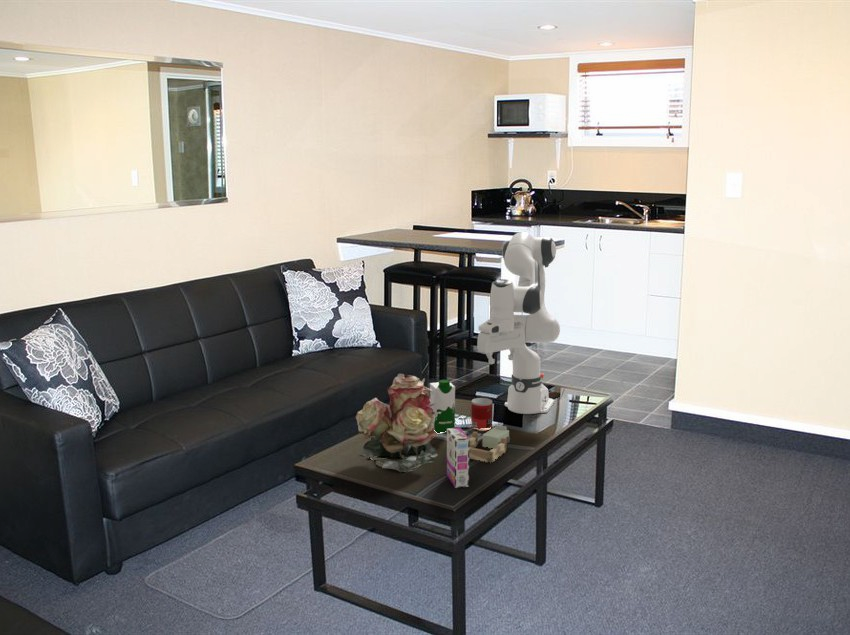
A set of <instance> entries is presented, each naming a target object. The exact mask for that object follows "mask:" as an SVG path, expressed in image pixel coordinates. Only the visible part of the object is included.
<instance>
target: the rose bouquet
mask: <svg viewBox="0 0 850 635" xmlns="http://www.w3.org/2000/svg"><path fill="white" fill-rule="evenodd" d="M425 380H426V378H425V377H424V378H423V379H422V380H421V378H419V377H417V376H415V375H409V374H404V373H398V374H397V376H395V377H394V378H393V381H392V385H391V386H389V387H387V393H388V397H389V403H388V404H387V403H384V402H382V401H380V400H379V399H378V398H377V397H374V398H372V399H371V400H369V401H366V403H365V404H364V405H363V408H362V409H361V410H359V411H357V413H356V415H355V417H354V418H355V419H356V422H357V424H356V425H357V426H358V427H357V428H358V433H359V434H360V435H361V434H362V435H363V436H364V439H366V440H367V439H369V438H370V440H367V441H366V442H365V443H364V445H363V447H362V450H361V454H360V455H361V456H362V455H365V456H369V455H373V457H374V456H390V457H389V458H391V457H392V458H391V459H394V460H389V459H377V460H376V461H380V462H382V463H384V464H383V466H382V468H381V469H390V470H391V469H392V470H395V471H398V472H399V473H401V472H404V471H407V470H409V469H412V467H414V468H416V467H417V468H416V469H418V468H420V467H421V466H423V465H425V464H430V463H431V464H432V463H434V460H433V461H432V460H430V459H432V458H436V457H437V456H438V455H439V454H437V451H436V448H435V447H433V446H432V444H431V441H432V440H433V439H434V438H435V437H436V436H437V433H436V432H435V431H434V422H435V417H436V414H435V412H433V409H432V408H431V406H433V405H435V404H436V403H435V404H432V405H431V401H430V395H429V394H430V392H432V389H431V388H430V387H427V386H425ZM414 453H416V454H414ZM421 453H422V455H418V454H421ZM410 454H414V455H417V456H414V455H410ZM399 456H401V457H399ZM393 457H394V458H393ZM396 457H397V458H396ZM405 457H407V458H405ZM431 457H432V458H431ZM401 458H402V459H401ZM370 459H371V460H370V461H374V460H373V459H372V458H370ZM429 460H430V461H429ZM376 461H375V462H376ZM414 464H416V465H418V466H414ZM412 471H413V472H414V470H409V471H408V472H407V473H410V472H412Z"/></svg>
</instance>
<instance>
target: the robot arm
mask: <svg viewBox="0 0 850 635" xmlns="http://www.w3.org/2000/svg"><path fill="white" fill-rule="evenodd" d="M556 254H557V245H556V244H555V241H554V239H553V238H552V237H548V236H542V237H538V236H537V237H535V236H534V237H533V235H531V234H530V233H529V232H526V231H519V232H516V233H514V235H513V236H512V238H511V239H510V240H507V241H506V242H505V243H504V244H503V246H502V258H503V262H504V266H505V267H506V269H507V270H508V271H509V272H510V273H511V274H513V275H515V276H517V277H518V276H519V278H518V284H517V286H516V285H515V286H514V282H513V281H512V280H511V279H506V278H504V279H503V278H502V279H500V278H499V279H496V280H494V281H493V282H492V283H491V288H490V293H489V306H490V313H489V319H487V320H486V321H485V322H483V323H481V324H479V325H478V331H479V333H478V335H477V342H476V343H477V344H476V345H477V346H476V347H477V350H478V352H479V353H481V354H483V355H486V357H487V359H488V364H489V365H493V364H495V361H496V359H495V358H493V354H494V353H496V352H502V351H503V352H504V351H507V350H508V351H509V354H508V356H507V357H508V358H507V359H508V361H511V363H512V374H511V378H510V380H511V385H510V386H508V390H507V391H508V392H507V393H508V394H507V401H505V402H504V407H506V408H507V409H508V410H509V411H510V412H513V413H516V414H521V415H522V414H523V415H532V414H540V413H541V414H546V413H548V412H549V410H550V409H551V407H552V406H553V404H554V403H555V399H553V398H550V397H549V396H550V395H549V394H550V393H549V389H548V387H546V386H545V385H544V384H543V379H544V377H545V374H544V373H541V357H540V355H539V354H538V353H537V352H536V351H534V350H532V349H531V348H529V347H528V346H527V345H526V343H528V344H529V343H530V344H531V343H532V344H533V343H534V344H547V343H553V342H555V341H557V339H558V337H559V335H560V332H561V328H560V327H561V326H560V323H559V321H558V320H557V319H556V318H555V317H554V316H552V315H551V314H550V313H549V312H548V310H547V308H546V305H545V292H546V273H545V268H548V267H549V266H550V264H551V263H553V261H554V260H555V258H556ZM515 313H522V314H515ZM523 313H524V314H523Z"/></svg>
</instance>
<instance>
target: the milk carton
mask: <svg viewBox="0 0 850 635" xmlns="http://www.w3.org/2000/svg"><path fill="white" fill-rule="evenodd" d="M430 388H431V389H432V392H429V394H430V395H429V399H430V401H431V403H430V405H432V404H435V403H436V404H435V405H433V406H431V408H432V409H433V412H435V414H436V417H435V422H434V430H435V431H436V432H437V433H440V432H445V431H447V429H449V428H456V427H455V426H456V386H455V385H454V384H453V383H452V382H450V380H449V379H440V380H439V381H438V382H430V383H429V389H430ZM436 432H435V433H436ZM437 433H436V434H437Z"/></svg>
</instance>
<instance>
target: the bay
mask: <svg viewBox="0 0 850 635" xmlns="http://www.w3.org/2000/svg"><path fill="white" fill-rule="evenodd" d="M469 439H470V444H469V460H470V459H471V460H476V461H479V460H480V461H479V462H484V461H485V462H484V463H488V462H490V463H489V464H492V463H493V462H495V461H496V460H497V459H499V458H500V457H502V456H503V455H502V454H503V453H504V454H505V453H507V452H506V451H507V450H508V449H507V447H508V446H507V445H508V443H507V438H501V443H500V444H498V445H497V446H496V447H494V448H493V449H491V448H490V450H485V449H481V448H476V447H478V446H477V445H478V444H479V441H478V439H479V431H473V432H471V436H470V437H469ZM499 456H500V457H499ZM498 457H499V458H498ZM495 459H496V460H495ZM491 462H492V463H491Z"/></svg>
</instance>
